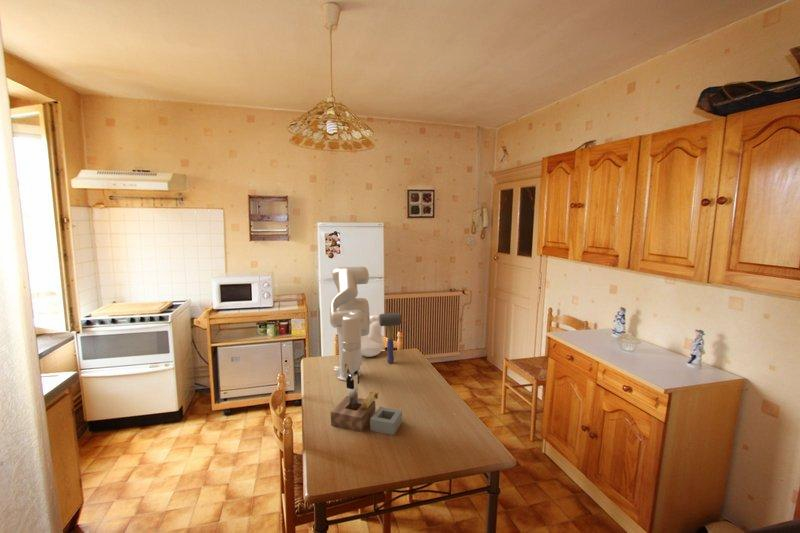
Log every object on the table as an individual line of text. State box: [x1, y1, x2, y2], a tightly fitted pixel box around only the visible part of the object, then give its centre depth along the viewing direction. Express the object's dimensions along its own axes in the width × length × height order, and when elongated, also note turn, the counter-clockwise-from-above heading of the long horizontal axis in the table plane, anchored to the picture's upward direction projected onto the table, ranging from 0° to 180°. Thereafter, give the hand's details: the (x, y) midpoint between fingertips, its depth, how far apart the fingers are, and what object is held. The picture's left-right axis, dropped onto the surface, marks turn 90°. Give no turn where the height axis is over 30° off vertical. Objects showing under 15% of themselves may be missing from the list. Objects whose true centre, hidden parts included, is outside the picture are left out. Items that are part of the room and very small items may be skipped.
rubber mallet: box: [378, 312, 402, 364], centre depth 212 cm, size 12×8×30 cm, turn 101°
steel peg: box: [347, 373, 359, 404], centre depth 154 cm, size 4×4×12 cm
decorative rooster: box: [361, 314, 384, 358], centre depth 225 cm, size 25×16×25 cm, turn 109°
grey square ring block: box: [369, 406, 403, 436], centre depth 150 cm, size 10×10×5 cm
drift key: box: [362, 390, 380, 409], centre depth 157 cm, size 4×10×2 cm, turn 160°
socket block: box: [330, 395, 377, 432], centre depth 155 cm, size 14×14×6 cm
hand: (352, 385), depth 153 cm, fingers closed on steel peg, 4 cm apart
